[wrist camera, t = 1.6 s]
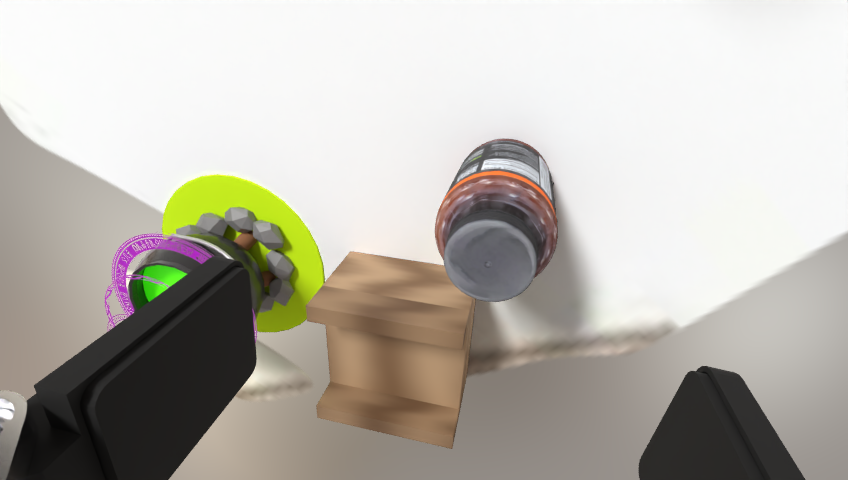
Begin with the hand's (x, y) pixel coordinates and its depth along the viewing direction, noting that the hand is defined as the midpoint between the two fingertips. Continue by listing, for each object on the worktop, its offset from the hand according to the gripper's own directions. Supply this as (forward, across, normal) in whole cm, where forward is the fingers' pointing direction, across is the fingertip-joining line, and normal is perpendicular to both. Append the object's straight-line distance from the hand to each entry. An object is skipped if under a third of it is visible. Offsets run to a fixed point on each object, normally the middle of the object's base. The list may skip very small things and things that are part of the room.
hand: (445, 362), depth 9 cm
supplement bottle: (+20, -1, +2) cm, 21 cm away
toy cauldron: (+21, +19, +14) cm, 32 cm away
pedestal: (+20, +4, +15) cm, 26 cm away
